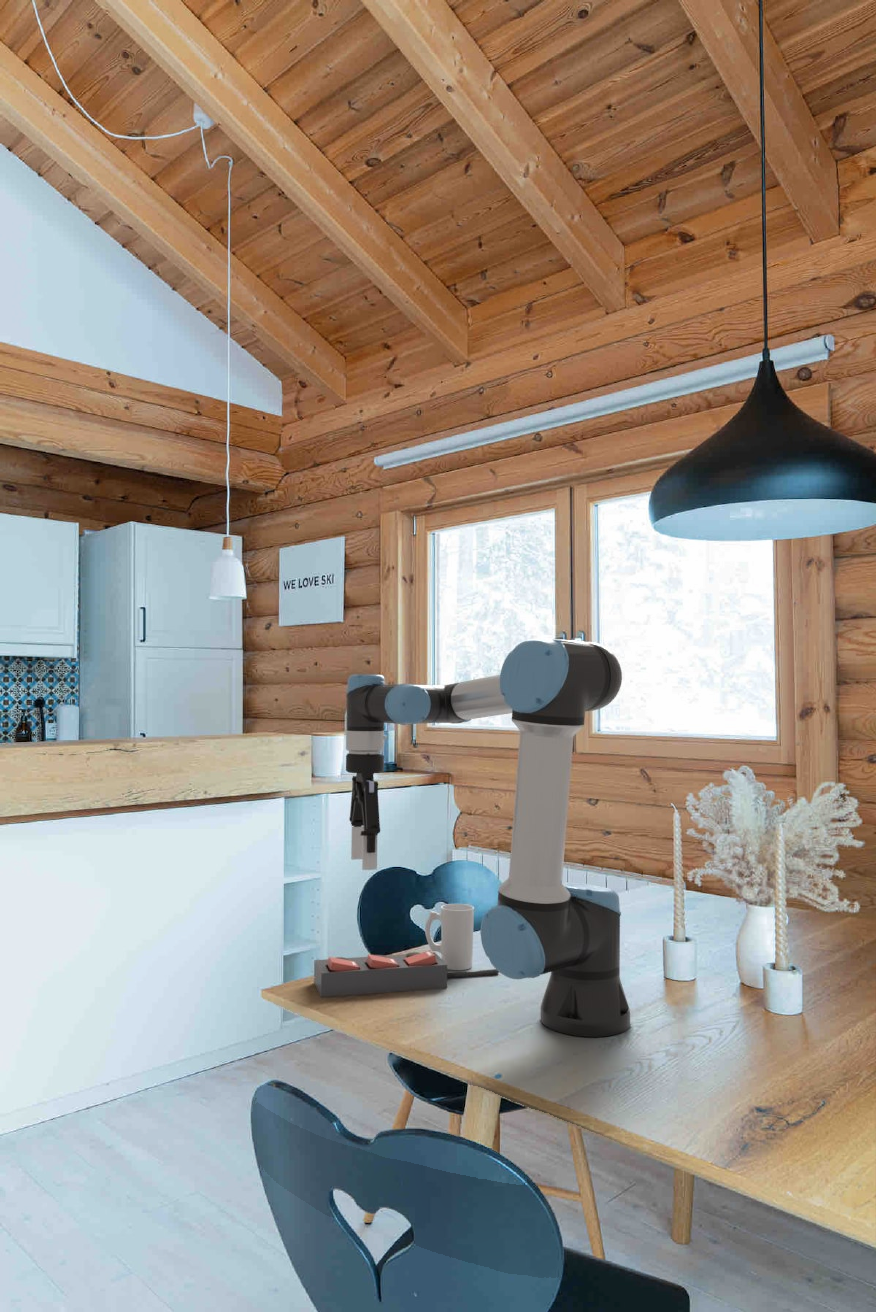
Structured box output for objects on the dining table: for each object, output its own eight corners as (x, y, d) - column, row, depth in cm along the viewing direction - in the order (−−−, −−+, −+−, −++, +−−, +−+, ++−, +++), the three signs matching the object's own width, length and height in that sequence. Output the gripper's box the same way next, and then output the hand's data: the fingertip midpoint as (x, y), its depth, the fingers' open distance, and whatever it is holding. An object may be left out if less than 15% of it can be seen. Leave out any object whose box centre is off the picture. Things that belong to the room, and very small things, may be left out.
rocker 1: (357, 974, 177) (359, 966, 177) (330, 969, 176) (332, 961, 176) (353, 968, 181) (355, 961, 181) (327, 964, 179) (329, 956, 180)
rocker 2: (396, 971, 179) (398, 964, 179) (370, 966, 178) (372, 959, 178) (391, 966, 183) (393, 958, 183) (366, 961, 181) (368, 953, 182)
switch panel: (509, 982, 184) (509, 958, 184) (321, 997, 174) (321, 971, 174) (493, 969, 192) (494, 946, 193) (313, 982, 183) (314, 958, 183)
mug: (475, 962, 198) (476, 904, 198) (471, 971, 191) (471, 911, 191) (427, 959, 199) (428, 902, 200) (421, 968, 193) (422, 909, 193)
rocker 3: (436, 962, 181) (434, 954, 181) (410, 970, 180) (409, 963, 180) (431, 957, 185) (429, 949, 185) (406, 965, 183) (404, 957, 183)
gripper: (396, 755, 178) (395, 874, 177) (371, 748, 200) (370, 853, 200) (357, 756, 176) (355, 875, 175) (336, 749, 198) (335, 854, 198)
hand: (363, 864), depth 187 cm, fingers open, 11 cm apart
